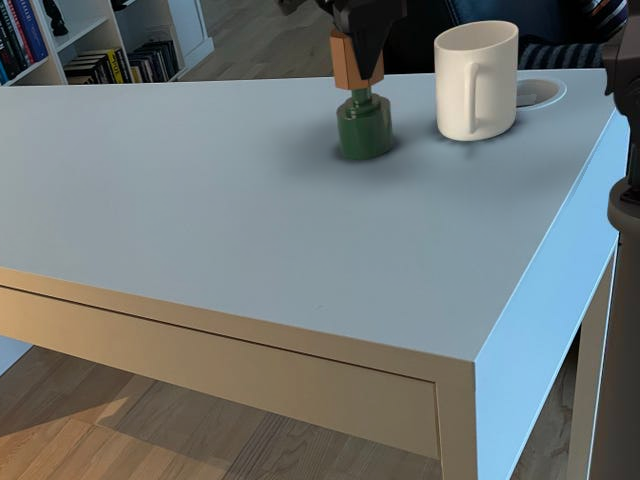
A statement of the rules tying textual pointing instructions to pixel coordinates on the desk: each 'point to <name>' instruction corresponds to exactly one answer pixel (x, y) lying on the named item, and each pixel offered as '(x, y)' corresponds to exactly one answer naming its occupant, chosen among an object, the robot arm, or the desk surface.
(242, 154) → the desk surface
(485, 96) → the cup
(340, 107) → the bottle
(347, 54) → the octagonal wooden prism
